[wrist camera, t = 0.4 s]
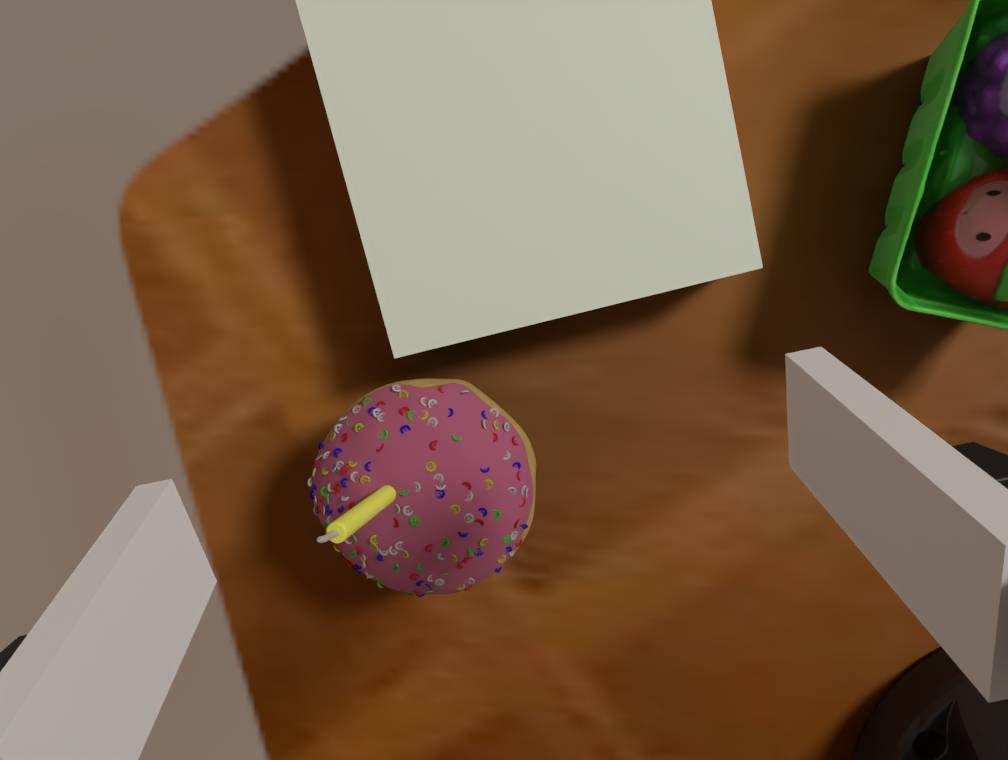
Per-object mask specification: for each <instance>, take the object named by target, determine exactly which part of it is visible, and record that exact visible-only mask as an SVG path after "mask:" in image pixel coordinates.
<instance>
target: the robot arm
mask: <svg viewBox="0 0 1008 760" xmlns="http://www.w3.org/2000/svg"><path fill="white" fill-rule="evenodd" d="M785 367H786V393H787V420H788V447H789V466H790V468H791V469H792V470H793V471H794V472H795V474H796V475H797V476H798V477H799V478H800V479H801V481H802V482H803V483H804V484H805V485H806V487H807V488H808V489H809V490H810V491H811V493H812V494H813V495H814V496H815V497H816V498H817V500H818V501H819V502H820V503H821V504H822V506H823V507H824V508H825V509H826V510H827V512H828V513H829V514H830V515H831V516H832V517H833V519H834V520H835V521H836V522H837V523H838V525H839V526H840V527H841V528H842V529H843V530H844V532H845V533H846V534H847V535H848V536H849V538H850V539H851V540H852V541H853V542H854V544H855V545H856V546H857V547H858V548H859V549H860V551H861V552H862V553H863V554H864V555H865V557H866V558H867V559H868V560H869V561H870V563H871V564H872V565H873V566H874V567H875V568H876V570H877V571H878V572H879V573H880V574H881V576H882V577H883V578H884V579H885V580H886V582H887V583H888V584H889V585H890V586H891V587H892V589H893V590H894V591H895V592H896V593H897V595H898V596H899V597H900V598H901V599H902V600H903V602H904V603H905V604H906V605H907V606H908V608H909V609H910V610H911V611H912V612H913V614H914V615H915V616H916V617H917V618H918V619H919V621H920V622H921V623H922V624H923V625H924V627H925V628H926V629H927V630H928V631H929V633H930V634H931V635H932V636H933V637H934V638H935V640H936V641H937V642H938V643H939V644H940V646H941V647H942V648H943V649H942V650H940V651H938V652H936V653H935V654H933V655H931V656H930V657H928V658H927V659H925V660H923V661H922V662H921V663H919V664H918V665H917V666H915V667H914V668H913V669H911V670H910V671H909V672H908V673H907V674H905V675H904V676H903V677H902V678H901V679H900V680H899V681H898V682H897V683H896V684H895V685H894V686H893V687H892V688H891V689H890V690H889V691H888V693H887V694H886V695H885V696H884V697H883V699H882V700H881V701H880V703H879V704H878V705H877V707H876V709H875V710H874V712H873V713H872V715H871V717H870V718H869V720H868V722H867V724H866V726H865V728H864V730H863V732H862V735H861V737H860V740H859V743H858V746H857V749H856V753H855V756H854V760H1008V455H1006V454H1004V453H1001V452H998V451H996V450H993V449H990V448H988V447H985V446H982V445H980V444H977V443H974V442H971V443H966V444H961V445H956V446H951V445H949V444H948V443H947V442H945V441H944V440H943V439H941V438H940V437H939V436H937V435H936V434H935V433H934V432H932V431H931V430H930V429H928V428H927V427H926V426H924V425H923V424H922V423H920V422H919V421H918V420H917V419H915V418H914V417H913V416H911V415H910V414H909V413H907V412H906V411H905V410H903V409H902V408H901V407H900V406H898V405H897V404H896V403H894V402H893V401H892V400H890V399H889V398H888V397H886V396H885V395H884V394H883V393H881V392H880V391H879V390H877V389H876V388H875V387H873V386H872V385H871V384H869V383H868V382H867V381H866V380H864V379H863V378H862V377H860V376H859V375H858V374H856V373H855V372H854V371H852V370H851V369H850V368H849V367H847V366H846V365H845V364H843V363H842V362H841V361H839V360H838V359H837V358H836V357H834V356H833V355H832V354H830V353H829V352H828V351H826V350H825V349H824V348H822V347H816V348H812V349H807V350H802V351H797V352H792V353H787V354H785ZM216 583H217V581H216V578H215V576H214V574H213V572H212V569H211V567H210V565H209V562H208V560H207V558H206V556H205V553H204V551H203V549H202V546H201V544H200V542H199V540H198V537H197V535H196V533H195V531H194V528H193V526H192V524H191V522H190V519H189V517H188V515H187V512H186V510H185V508H184V505H183V503H182V501H181V499H180V496H179V494H178V492H177V489H176V487H175V485H174V483H173V480H172V479H168V480H163V481H158V482H154V483H149V484H144V485H139V486H136V487H135V489H134V490H133V491H132V493H131V494H130V496H129V497H128V498H127V500H126V501H125V502H124V504H123V505H122V506H121V508H120V509H119V510H118V512H117V513H116V515H115V516H114V518H113V519H112V520H111V522H110V523H109V524H108V526H107V527H106V528H105V530H104V531H103V533H102V534H101V535H100V536H99V538H98V539H97V541H96V542H95V543H94V545H93V546H92V547H91V549H90V550H89V552H88V553H87V554H86V556H85V557H84V558H83V560H82V561H81V563H80V564H79V565H78V567H77V568H76V569H75V571H74V572H73V573H72V575H71V576H70V578H69V579H68V580H67V582H66V583H65V584H64V586H63V587H62V588H61V590H60V591H59V593H58V594H57V595H56V597H55V598H54V599H53V601H52V602H51V604H50V605H49V606H48V608H47V609H46V610H45V612H44V613H43V614H42V616H41V617H40V619H39V620H38V621H37V623H36V624H35V625H34V627H33V628H32V629H31V631H30V632H29V634H28V635H24V636H19V637H18V638H17V639H16V640H14V641H13V642H12V643H11V644H10V645H9V646H8V647H6V648H5V649H4V650H3V651H2V652H1V653H0V760H138V759H139V756H140V754H141V752H142V750H143V747H144V745H145V743H146V741H147V738H148V736H149V734H150V732H151V729H152V727H153V725H154V723H155V720H156V718H157V716H158V714H159V711H160V709H161V707H162V705H163V702H164V700H165V698H166V696H167V693H168V691H169V689H170V686H171V684H172V682H173V679H174V677H175V675H176V673H177V671H178V668H179V666H180V664H181V661H182V659H183V657H184V655H185V653H186V650H187V648H188V646H189V644H190V641H191V639H192V637H193V635H194V632H195V630H196V628H197V625H198V623H199V621H200V619H201V616H202V614H203V612H204V610H205V607H206V605H207V603H208V601H209V598H210V596H211V594H212V592H213V589H214V587H215V585H216Z"/></svg>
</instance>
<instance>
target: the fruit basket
mask: <svg viewBox="0 0 1008 760" xmlns="http://www.w3.org/2000/svg"><path fill="white" fill-rule="evenodd" d="M921 102H922V104H921V105H920V106H919V107H918V109H917V111H916V113H915V114H914V116H913V118H912V121H911V124H910V127H909V131H908V134H907V138H906V141H905V145H904V149H903V163H902V164H903V168H902V169H901V170H900V172H899V174H898V175H897V176H896V178H895V180H894V183H893V187H892V190H891V194H890V197H889V200H888V204H887V208H886V212H885V226H886V228H885V230H883V231H882V233H881V235H880V237H879V238H878V240H877V243H876V246H875V250H874V253H873V256H872V260H871V263H870V267H869V274H870V275H871V276H872V277H873V278H875V279H876V280H877V281H878V282H879V283H880V284H882V285H883V286H884V287H885V288H886V289H888V292H889V294H890V295H891V297H892V298H893V299H894V301H895V302H896V303H897V304H898V305H899V306H901V307H902V308H904V309H907V310H909V311H915V312H920V313H926V314H931V315H937V316H942V317H947V318H952V319H957V320H962V321H967V322H972V323H977V324H982V325H987V326H991V327H996V328H1001V329H1005V330H1008V0H970V1H969V3H968V5H967V7H966V9H965V12H964V14H963V16H962V17H961V18H960V19H959V21H958V22H957V23H956V25H955V26H954V27H953V28H952V30H951V31H950V32H949V33H948V35H947V36H946V37H945V39H944V40H943V41H942V42H941V44H940V45H939V46H938V47H937V49H936V50H935V51H934V52H933V54H932V55H931V57H930V59H929V62H928V65H927V68H926V72H925V75H924V79H923V82H922V86H921Z"/></svg>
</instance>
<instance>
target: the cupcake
mask: <svg viewBox="0 0 1008 760" xmlns="http://www.w3.org/2000/svg"><path fill="white" fill-rule="evenodd" d="M319 449H320V450H319V453H318V455H317V458H316V459H315V463H314V466H313V470H312V477H310V478H309V479H308V486H309V487H311V486H312V491H311V492H310V497H311V498H312V499H313V501H314V506H315V507H314V514H315V515H318V518H319V520H320V521H321V523H322V525H323V527H324V528H325V530H326V534H325V535H323V536H320V537H318V538H317V542H319V543H324V542H327V541H328V540H330V541H331V542H333V543H335V545H334V549H335V550H336V551H338V552H342V555H343V556H344V557H345V558H347V559H348V562H347V563H348V566H349V567H350V568H351V569H353V568H354V569H355V571H356V572H358V573H363V574H365V576H366V578H367V579H369V578H371V579H373V580H374V581H376V582H377V584H378V586H379V587H380V588H383V585H384V586H386V587H388V588H390V589H393V590H396V591H401V592H406V594H408V595H413V594H416V596H418V597H422V596H424V595H425V594H449V593H455V592H459V591H462V590H464V589H465V591H467V590H468V589H469V588H470V587H471V586H472V585H474V584H475V583H477V582H479V581H481V580H483V579H484V578H486V577H488V576H489V575H491V574H492V573H494V572H495V571H496V572H497V573H498V572H499V571H500V570H501V566H502V565H503V564H504V563H505V562H506V561H507V560H508V559H509V558H510V557H511V556H513V555H514V553H515V551H516V550H517V549H518V548H519V546H520V545H521V543H522V542H523V541H524V539H525V537H526V535H527V534H528V531H529V529H530V526H531V523H532V520H533V515H534V508H535V488H536V459H535V455H534V452H533V448H532V446H531V443H530V441H529V439H528V437H527V435H526V434H525V432H524V431H523V430H522V428H521V427H520V426H519V425H518V424H517V423H516V422H515V420H514V419H512V418H511V417H510V416H509V415H508V414H507V413H506V412H505V411H504V410H503V409H502V408H501V407H499V406H498V405H497V404H496V403H495V402H494V401H493V400H491V399H490V398H489V397H487V396H486V395H485V394H484V393H482V392H481V391H480V390H479V389H477V388H476V387H475V386H473V385H472V384H470V383H468V382H466V381H464V380H459V379H431V378H426V379H413V380H404V381H398V382H394V383H390V384H387V385H384V386H382V387H379V388H377V389H375V390H373V391H371V392H369V393H367V394H365V395H364V396H362V397H361V398H359V399H358V400H357V401H355V402H354V403H353V404H352V405H351V406H350V407H349V408H348V409H347V410H346V411H345V412H344V413H343V414H342V415H341V416H340V417H339V419H338V420H337V421H336V423H335V424H334V426H333V427H332V429H331V430H330V432H329V433H328V435H327V437H326V438H325V440H324V442H323V443H319ZM311 479H312V481H311ZM309 482H310V483H309ZM311 482H312V483H311ZM312 494H313V495H312ZM336 547H337V548H338V549H337V548H336ZM350 562H351V563H350ZM350 564H351V565H353V566H350ZM357 569H358V570H357ZM379 584H380V585H379ZM419 594H420V595H419ZM421 594H422V595H421Z"/></svg>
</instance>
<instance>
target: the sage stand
mask: <svg viewBox="0 0 1008 760" xmlns="http://www.w3.org/2000/svg"><path fill="white" fill-rule="evenodd" d="M296 4H297V7H298V11H299V15H300V19H301V22H302V26H303V29H304V33H305V37H306V40H307V44H308V48H309V51H310V55H311V58H312V62H313V66H314V69H315V73H316V77H317V80H318V84H319V87H320V91H321V95H322V98H323V102H324V106H325V109H326V113H327V116H328V120H329V124H330V127H331V131H332V135H333V138H334V142H335V146H336V149H337V153H338V156H339V160H340V164H341V167H342V171H343V175H344V178H345V182H346V185H347V189H348V193H349V196H350V200H351V204H352V207H353V211H354V214H355V218H356V222H357V225H358V229H359V233H360V236H361V240H362V243H363V247H364V251H365V254H366V258H367V262H368V265H369V269H370V272H371V276H372V280H373V283H374V287H375V291H376V294H377V298H378V301H379V305H380V309H381V312H382V316H383V320H384V323H385V327H386V330H387V334H388V338H389V341H390V345H391V349H392V352H393V356H394V359H395V358H399V357H403V356H407V355H411V354H415V353H419V352H423V351H427V350H431V349H435V348H439V347H443V346H448V345H452V344H456V343H460V342H464V341H468V340H472V339H476V338H480V337H484V336H488V335H492V334H496V333H500V332H504V331H508V330H513V329H517V328H521V327H525V326H529V325H533V324H537V323H541V322H545V321H549V320H553V319H557V318H561V317H565V316H569V315H573V314H578V313H582V312H586V311H590V310H594V309H598V308H602V307H606V306H610V305H614V304H618V303H622V302H626V301H630V300H634V299H638V298H643V297H647V296H651V295H655V294H659V293H663V292H667V291H671V290H675V289H679V288H683V287H687V286H691V285H695V284H699V283H703V282H708V281H712V280H716V279H720V278H724V277H728V276H732V275H736V274H740V273H744V272H748V271H752V270H756V269H760V268H763V265H762V260H761V255H760V250H759V245H758V240H757V234H756V229H755V224H754V219H753V214H752V209H751V203H750V198H749V193H748V188H747V183H746V178H745V172H744V167H743V162H742V157H741V152H740V147H739V141H738V136H737V131H736V126H735V121H734V116H733V110H732V105H731V100H730V95H729V90H728V85H727V79H726V74H725V69H724V64H723V59H722V54H721V48H720V43H719V38H718V33H717V28H716V23H715V17H714V12H713V7H712V2H711V0H296Z"/></svg>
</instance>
